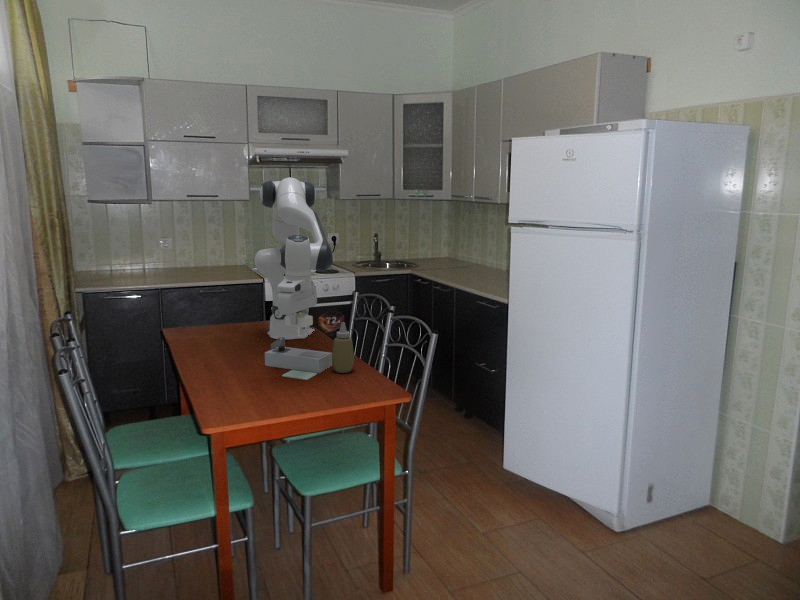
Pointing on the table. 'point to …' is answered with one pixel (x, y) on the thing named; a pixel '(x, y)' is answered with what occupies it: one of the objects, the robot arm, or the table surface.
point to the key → (279, 344)
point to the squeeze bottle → (343, 351)
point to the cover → (300, 320)
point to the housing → (298, 359)
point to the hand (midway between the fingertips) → (298, 322)
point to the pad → (299, 374)
